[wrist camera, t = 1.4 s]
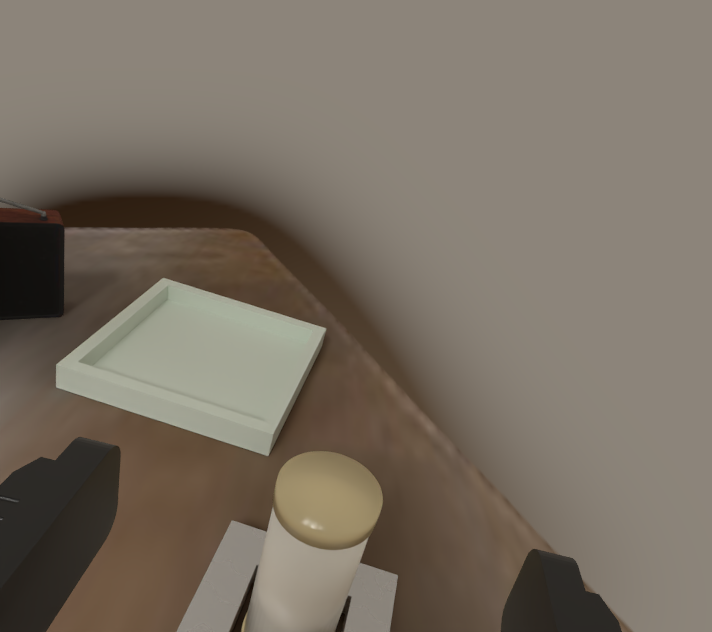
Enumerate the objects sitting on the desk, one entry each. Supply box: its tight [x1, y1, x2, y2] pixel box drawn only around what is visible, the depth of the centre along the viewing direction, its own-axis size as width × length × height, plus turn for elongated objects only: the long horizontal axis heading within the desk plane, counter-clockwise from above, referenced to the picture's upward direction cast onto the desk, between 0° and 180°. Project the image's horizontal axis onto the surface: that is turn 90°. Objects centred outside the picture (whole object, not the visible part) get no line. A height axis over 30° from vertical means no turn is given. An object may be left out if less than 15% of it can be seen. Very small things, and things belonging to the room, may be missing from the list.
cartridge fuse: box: [241, 451, 383, 632], centre depth 28 cm, size 5×5×11 cm
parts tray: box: [56, 278, 326, 456], centre depth 49 cm, size 16×16×2 cm
